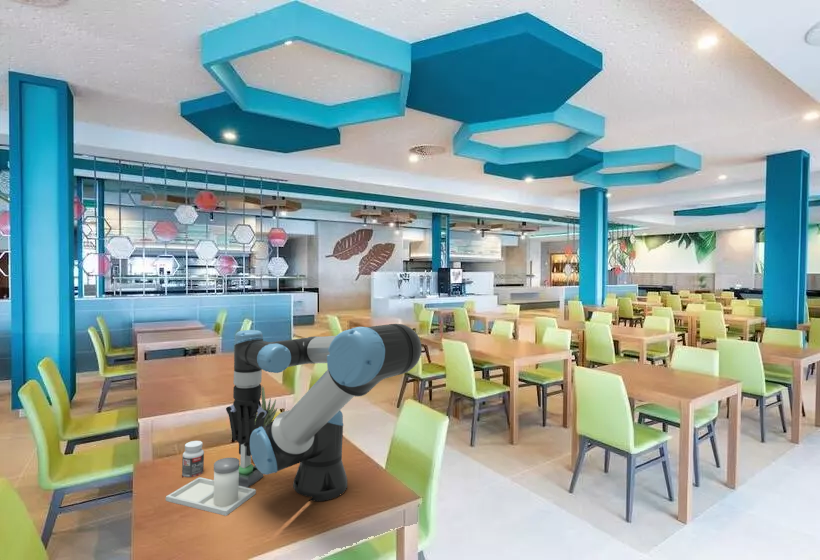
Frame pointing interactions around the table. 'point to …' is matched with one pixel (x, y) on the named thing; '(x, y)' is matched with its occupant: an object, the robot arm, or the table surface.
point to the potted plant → (270, 411)
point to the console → (250, 478)
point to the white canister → (226, 481)
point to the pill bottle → (193, 459)
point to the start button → (246, 470)
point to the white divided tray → (206, 496)
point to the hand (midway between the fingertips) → (245, 465)
